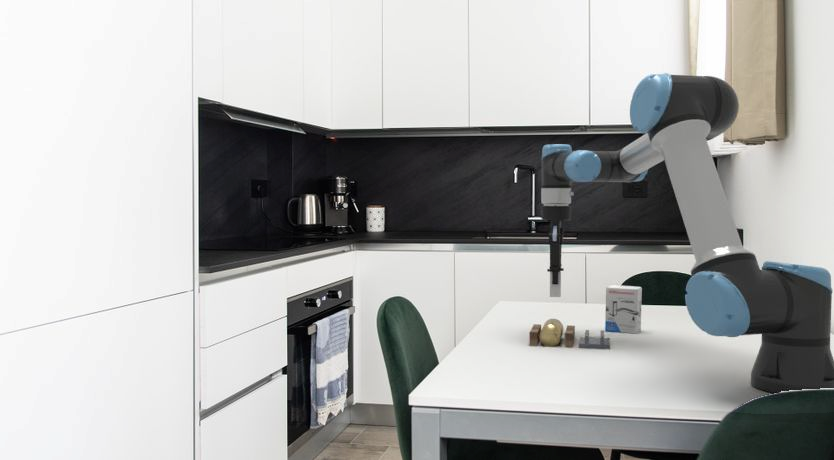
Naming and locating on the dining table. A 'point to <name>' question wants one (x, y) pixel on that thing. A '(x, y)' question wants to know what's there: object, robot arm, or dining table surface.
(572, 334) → the wooden rail pair
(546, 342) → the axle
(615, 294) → the ink box
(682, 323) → the dining table surface
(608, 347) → the cradle
